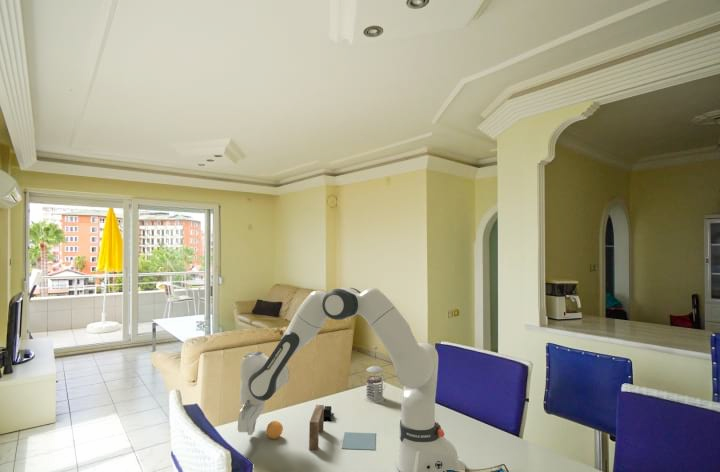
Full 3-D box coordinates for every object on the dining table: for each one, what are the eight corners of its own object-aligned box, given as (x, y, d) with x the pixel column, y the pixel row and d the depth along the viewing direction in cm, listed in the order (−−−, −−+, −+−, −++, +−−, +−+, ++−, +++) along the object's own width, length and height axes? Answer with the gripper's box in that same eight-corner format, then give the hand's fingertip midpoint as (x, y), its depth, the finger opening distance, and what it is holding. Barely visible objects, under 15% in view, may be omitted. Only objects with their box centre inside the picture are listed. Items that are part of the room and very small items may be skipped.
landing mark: (375, 433, 147) (375, 433, 147) (375, 450, 135) (375, 449, 135) (344, 432, 148) (344, 432, 148) (341, 448, 136) (341, 448, 136)
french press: (375, 393, 189) (376, 342, 190) (391, 400, 180) (392, 347, 181) (360, 397, 183) (360, 345, 184) (375, 405, 174) (376, 350, 175)
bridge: (323, 430, 150) (323, 405, 150) (317, 450, 135) (317, 422, 135) (315, 429, 150) (316, 404, 150) (309, 449, 135) (309, 422, 135)
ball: (284, 434, 146) (284, 418, 146) (280, 442, 140) (280, 425, 140) (268, 433, 146) (269, 417, 146) (264, 441, 140) (264, 425, 140)
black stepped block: (334, 425, 155) (334, 414, 155) (316, 425, 155) (316, 413, 155) (337, 412, 167) (337, 402, 168) (320, 412, 168) (320, 401, 168)
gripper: (251, 407, 133) (250, 447, 133) (267, 386, 154) (267, 421, 153) (233, 407, 134) (232, 447, 133) (252, 386, 154) (251, 420, 154)
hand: (251, 433), depth 143 cm, fingers closed
